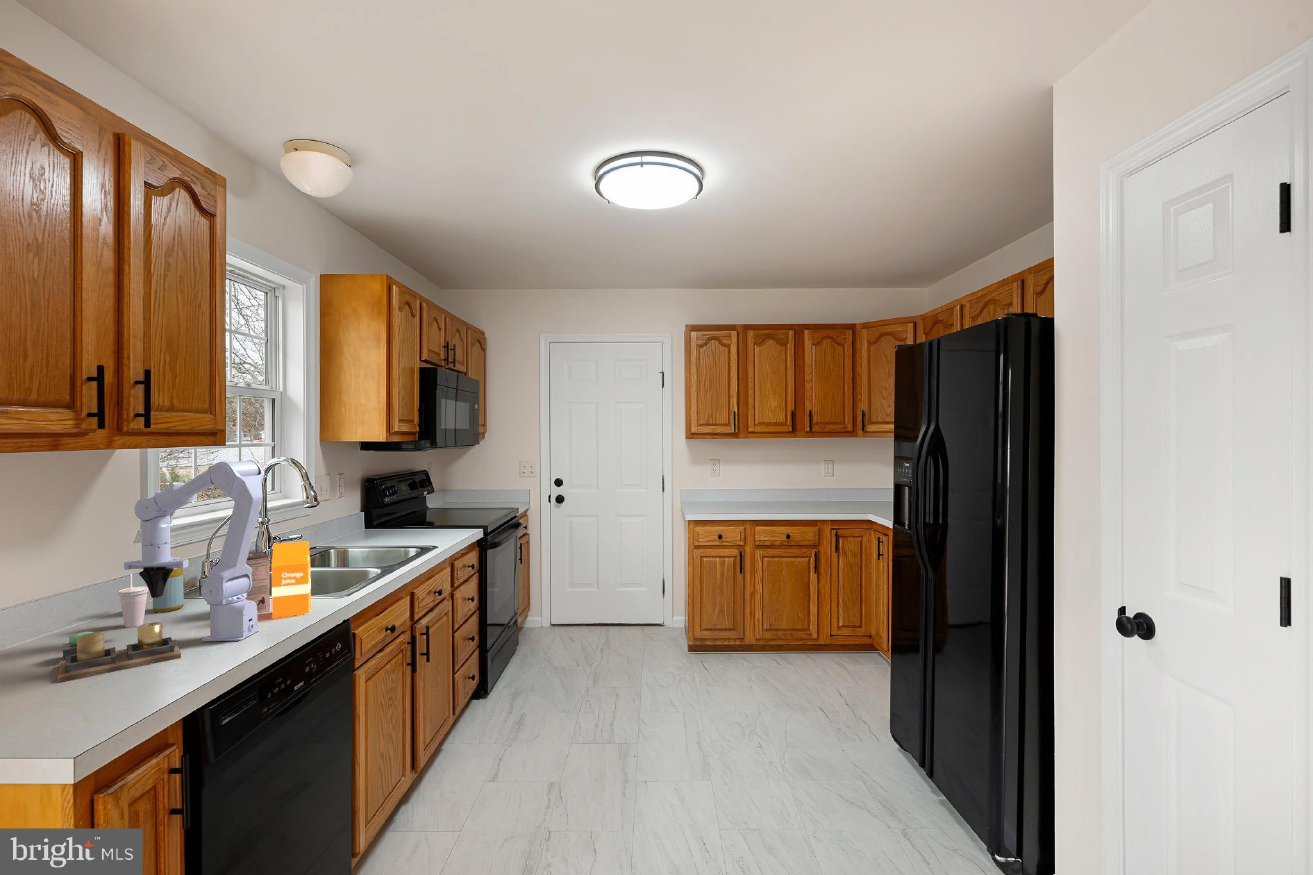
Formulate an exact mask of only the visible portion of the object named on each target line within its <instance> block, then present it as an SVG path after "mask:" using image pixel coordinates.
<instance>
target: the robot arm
mask: <svg viewBox="0 0 1313 875" xmlns="http://www.w3.org/2000/svg"><path fill="white" fill-rule="evenodd" d="M264 478H265V471H264V470H263V469H262V467H261V465H260V464H259V463H258V462H257V461H255V460H252V459H248V460H241V461H218V462H216V463H215V464H213V465H210V466H208V468H207V469H206V470H205V471H203V472H201V473H200V474H198V475H196V476H195V477H194V478H192V479H190V480H189V481H187V482H178V481H176V482H171V483H170V484H168V486H169V487H167V488H165V489H163V490H160V491H159V490H158V491H157V492H154V495H153V496H151V497H148V496H145V497H140V499H138V500H137V501H136V503H135V505H134V515H135V516H136V518H138V519H139V520H140V522H141V524H140V526H141V527H140V528H141V529H140V530H141V533H140V534H141V537H140V538H141V559H140V560H128V561H124V562H123V569H124V570H125V571H127V570H128V571H129V570H142V571H139V573H138V574H139V576H140V577H141V579H142V580H143V581H144V582H145V584H146V587H148V589H149V591H148V592H149V594H150V597H151V599H153V598H158V597H161V596H163V592H164V588H165V585H166V583H167V580H168V578H169V576H170V575H171V573H172V572H173V570H174V568H180V569H186V568H188V567H189V559H182V558H181V559H171V556H172V554H171V553H172V552H171V524H172V522H173V517H174V515H175V513H176V511H177V510H179V509H181V508H183V507H184V506H186V505H188V504H190V503H192V502H193V501H194V500H195V496H196V494H199V493H201V492H203V491H205V490H207V489H209V488H212V487H214V486H215V487H216V488H218V489H219V490H220V491H222V493H224V494H225V495H226V496H227V497H228V498H230V499H231V500H232V501H233V502H234V505H233V508H232V511H231V516H230V518H229V519H230V520H229V523H228V528H227V532H226V535H225V539H224V542H223V543H224V544H223V547H222V552H221V554H220V559H219V562H218V563H217V564H216V565H215V566H214V567H212V569H210V571H208V575H207V577H206V579H205V580H204V581H203V582H202V585H201V587H200V594H201V597H202V599H203V600H204V601H205V602H206V605H208V606H209V633H210V634H209V635H208V636H206V637H204V638H202V639H201V642H226V641H227V642H230V641H231V642H232V641H233V642H234V641H242V640H244V639H245V638H248V637H250V636H252V635H253V634H256V633H258V632H260V628H258V613H257V605H256V603H255V602H254V601H249V600H246V599H245V598H246V597H247V593H248V592H249V591H250V590H251V587H252V578H251V575H252V569H251V568H250V567H249V566H248V565H247V564H246V560H247V557H248V553H250V548H251V545H252V541H253V537H254V533H255V529H256V525H257V521H258V518H259V514H260V510H261V506H262V504H263V503H262V502H263V498H264V496H263V487H262V486H263V481H264ZM161 565H162V566H161Z"/></svg>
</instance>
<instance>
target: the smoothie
mask: <svg viewBox="0 0 1313 875" xmlns="http://www.w3.org/2000/svg"><path fill="white" fill-rule="evenodd" d="M148 592H149V589H148V587H147V585H146V586H145V585H144V586H133V572H130V573H129V587H126V588H123V589H120V590H118V591H117V595H118V596H119V599H120V606H121V612H122V616H123V618H122V619H123V622H124V626H125V628H135V626H136V627H138V626H140V625H142V624H144V620H145V612H146V605H147V597H148Z"/></svg>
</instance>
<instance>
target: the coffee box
mask: <svg viewBox="0 0 1313 875" xmlns="http://www.w3.org/2000/svg"><path fill="white" fill-rule="evenodd" d="M246 564H247V565H248V566H249V567H250V568H251V569H252V575H251V578H252V587H251V590H250V591H249V592H248V593H247V597H246V598H245V599H246V600H249V601H254V602H255V603H256V605H257V614H259V613H260V614H261V613H264V612H265V611H266V612H270V610H271V609H270V604H271V603H270V602H271V601H270V597H271V596H270V555H268V554H266V553H265V552H263V551H255V552H249V553H248V557H247V560H246Z"/></svg>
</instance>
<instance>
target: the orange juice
mask: <svg viewBox="0 0 1313 875" xmlns="http://www.w3.org/2000/svg"><path fill="white" fill-rule="evenodd" d="M309 544H310V543H309V540H308V541H305V540H304V541H292V542H282V543H281V542H280V543H273V545H272V546H273V547H272V558H271V559H272V560H271V599H272V600H271V602H272V604H271V606H272V609H271V610H272V611H271V612H272V619H273V618H274V619H280V618H279V617H282V618H291V617H294V616H293V615H299V616H302V615H301V614H305V613H309V614H310V612H311V609H312V594H311V593H312V592H311V591H312V590H311V589H312V584H311V583H312V580H311V578H312V577H311V556H310V545H309ZM310 608H311V609H310ZM309 611H310V612H309ZM290 616H291V617H290Z"/></svg>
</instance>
